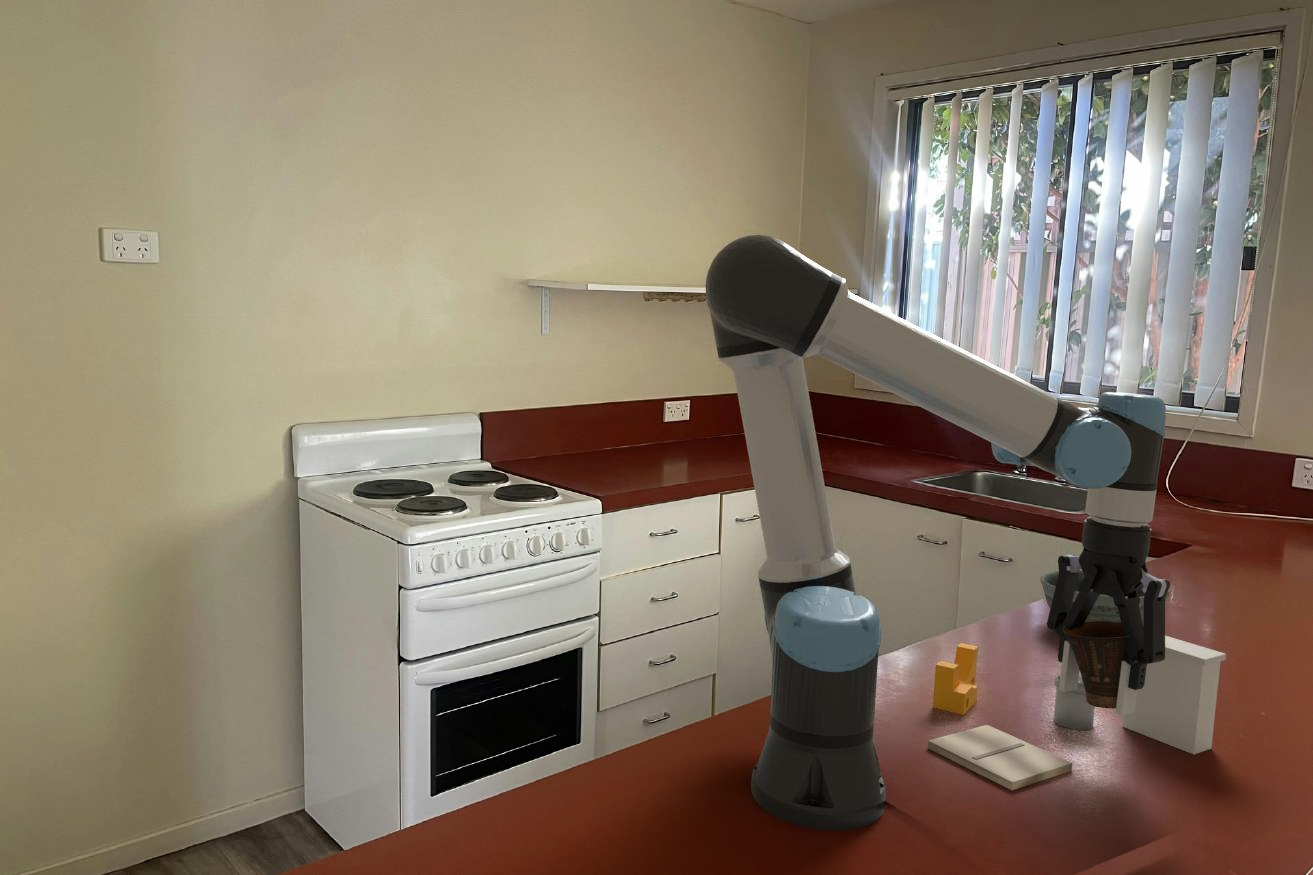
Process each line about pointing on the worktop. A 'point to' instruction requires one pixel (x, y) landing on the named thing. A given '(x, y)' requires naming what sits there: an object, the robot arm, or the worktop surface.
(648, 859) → the worktop surface
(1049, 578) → the bowl
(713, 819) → the worktop surface
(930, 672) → the worktop surface
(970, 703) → the yellow shaft support bracket
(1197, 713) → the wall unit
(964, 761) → the board
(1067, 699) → the grey knob
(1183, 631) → the worktop surface
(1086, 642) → the cup
